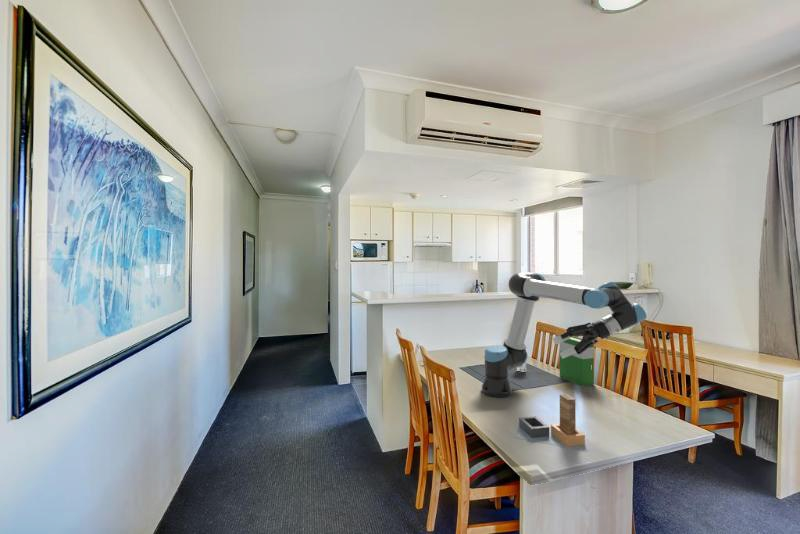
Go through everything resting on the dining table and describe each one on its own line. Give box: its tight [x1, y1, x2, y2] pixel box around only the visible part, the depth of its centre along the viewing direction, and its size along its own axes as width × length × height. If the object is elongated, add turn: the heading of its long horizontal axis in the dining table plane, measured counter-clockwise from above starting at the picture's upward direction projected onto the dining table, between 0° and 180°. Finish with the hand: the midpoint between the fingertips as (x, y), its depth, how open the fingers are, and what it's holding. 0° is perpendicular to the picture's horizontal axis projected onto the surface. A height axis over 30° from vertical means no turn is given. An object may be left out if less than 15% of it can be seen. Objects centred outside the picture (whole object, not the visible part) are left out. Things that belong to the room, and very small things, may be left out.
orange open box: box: [550, 423, 586, 446], centre depth 127 cm, size 7×9×4 cm
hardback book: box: [559, 336, 595, 387], centre depth 192 cm, size 18×7×24 cm, turn 15°
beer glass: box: [516, 346, 528, 372], centre depth 209 cm, size 7×7×15 cm
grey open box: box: [518, 415, 550, 438], centre depth 133 cm, size 7×9×4 cm
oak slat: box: [559, 393, 577, 435], centre depth 127 cm, size 3×5×16 cm, turn 9°
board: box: [515, 423, 588, 452], centre depth 130 cm, size 24×14×1 cm, turn 66°
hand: (557, 349), depth 145 cm, fingers open, 13 cm apart
